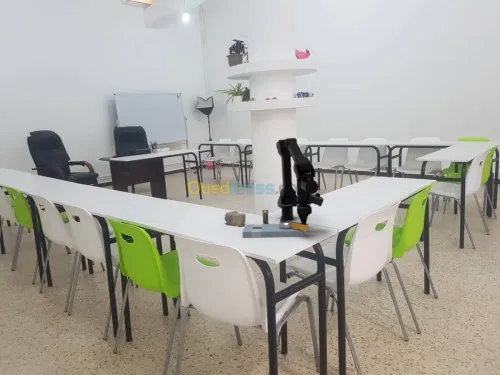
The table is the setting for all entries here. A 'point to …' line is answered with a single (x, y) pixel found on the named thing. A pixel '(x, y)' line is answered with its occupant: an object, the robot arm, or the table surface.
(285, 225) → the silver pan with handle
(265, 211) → the pin
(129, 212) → the table surface
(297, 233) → the plate
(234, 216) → the mineral specimen
